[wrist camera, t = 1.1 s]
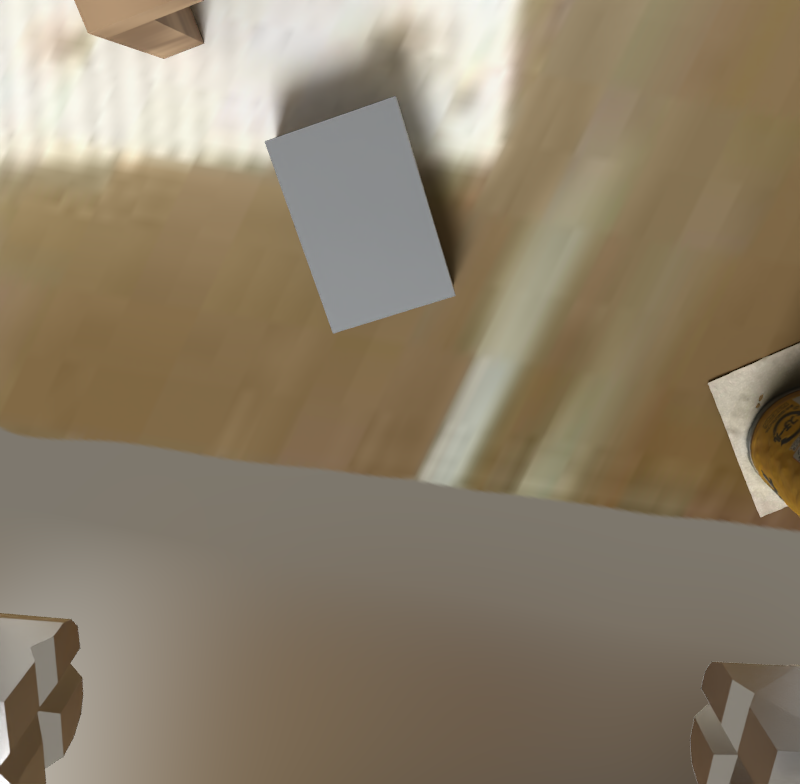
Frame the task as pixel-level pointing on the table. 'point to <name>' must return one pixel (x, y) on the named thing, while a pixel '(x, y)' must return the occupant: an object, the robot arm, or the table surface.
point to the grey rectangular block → (362, 215)
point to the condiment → (765, 427)
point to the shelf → (143, 24)
